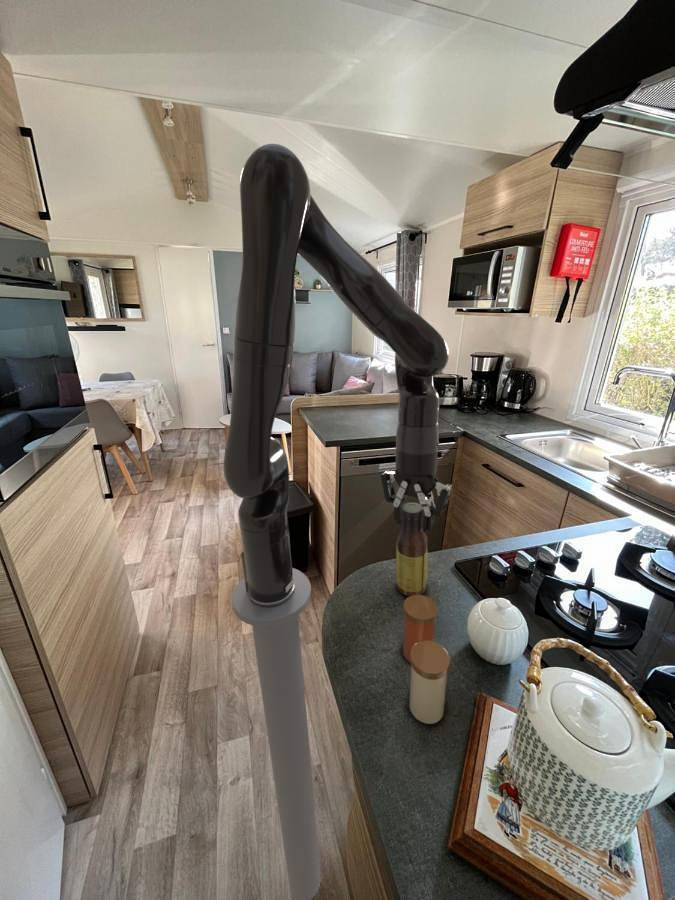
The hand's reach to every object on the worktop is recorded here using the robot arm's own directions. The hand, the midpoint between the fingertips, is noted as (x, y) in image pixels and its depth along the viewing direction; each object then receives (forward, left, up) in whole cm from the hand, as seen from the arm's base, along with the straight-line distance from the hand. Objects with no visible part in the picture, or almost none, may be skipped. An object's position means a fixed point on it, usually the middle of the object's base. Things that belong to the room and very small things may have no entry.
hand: (413, 525), depth 75 cm
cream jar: (+13, -22, -15) cm, 30 cm away
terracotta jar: (+8, -14, -15) cm, 22 cm away
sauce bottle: (0, 0, -16) cm, 16 cm away
